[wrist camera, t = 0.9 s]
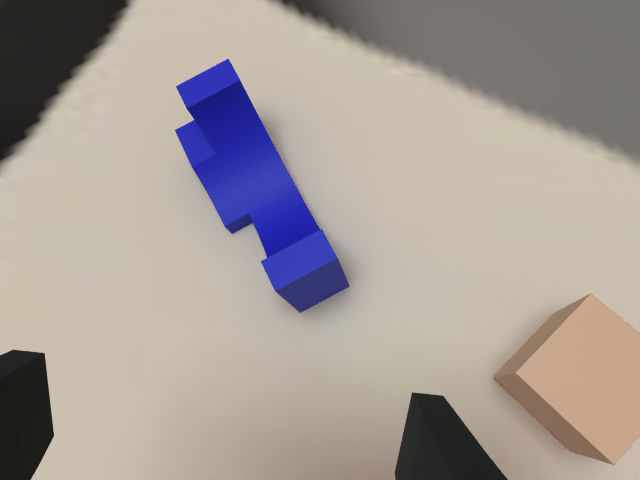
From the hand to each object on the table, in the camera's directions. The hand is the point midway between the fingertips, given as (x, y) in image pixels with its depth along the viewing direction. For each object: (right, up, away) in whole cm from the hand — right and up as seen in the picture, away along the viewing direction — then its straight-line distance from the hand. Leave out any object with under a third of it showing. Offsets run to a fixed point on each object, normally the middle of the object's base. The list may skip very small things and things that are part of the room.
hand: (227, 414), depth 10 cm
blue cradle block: (-1, +5, +19) cm, 20 cm away
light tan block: (+13, -3, +14) cm, 20 cm away
